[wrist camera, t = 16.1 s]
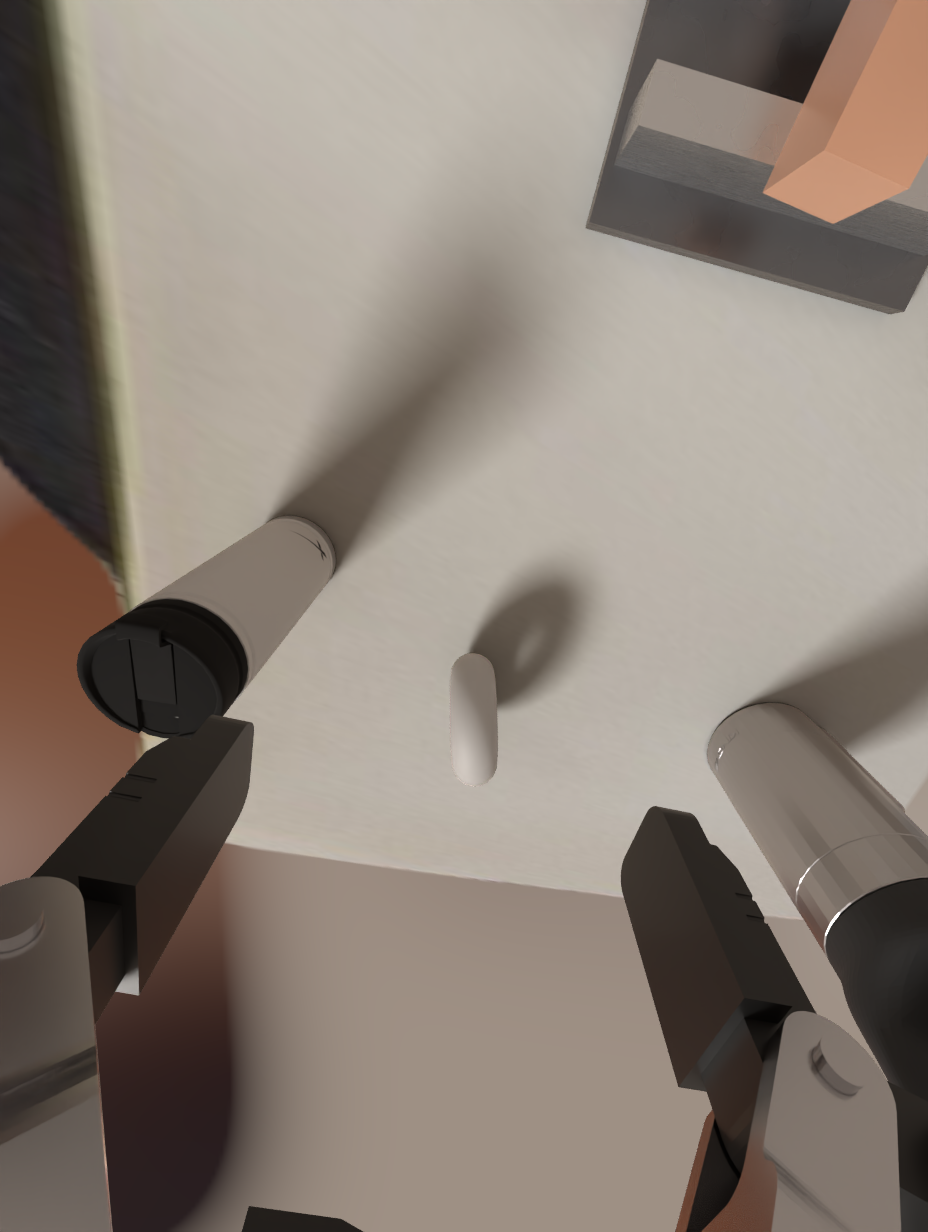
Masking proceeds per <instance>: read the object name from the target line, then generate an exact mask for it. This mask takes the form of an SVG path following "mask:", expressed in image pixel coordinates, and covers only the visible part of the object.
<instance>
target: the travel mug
mask: <svg viewBox="0 0 928 1232" xmlns="http://www.w3.org/2000/svg"><path fill="white" fill-rule="evenodd" d="M335 565H336V556H335V551H334V547H333V545H332V543H331V540H330V539H329V538H328V536H327V535H326V533H325V532H324V531H323V530H322V529H321V528H320V527H319V526H317V525H316V524H315V523H313V522H311V521H309V520H307V519H305V518H301V517H298V516H281V517H278V518H275V519H272V520H271V521H269V522H267V523H266V524H264V525H263V526H261V527H260V528H258V529H256V530H255V531H253V532H252V533H250V534H249V535H247V536H245V537H244V538H242V539H241V540H239V541H238V542H236V543H234V544H233V545H231V546H230V547H228V548H227V549H225V550H223V551H222V552H220V553H219V554H217V555H216V556H214V557H212V558H211V559H209V560H208V561H206V562H205V563H203V564H201V565H200V566H198V567H197V568H195V569H194V570H192V571H190V572H189V573H187V574H186V575H184V576H183V577H181V578H179V579H178V580H176V581H175V582H173V583H172V584H170V585H168V586H167V587H165V588H164V589H162V590H161V591H159V592H157V593H156V594H154V595H153V596H151V597H150V598H148V599H146V600H145V601H143V602H142V603H140V604H139V605H137V606H135V607H134V608H132V609H131V610H130V611H129V612H128V613H127V614H125V615H124V616H122V617H121V618H119V619H118V620H116V621H114V622H113V623H111V624H110V625H108V626H107V627H105V628H104V629H102V630H101V631H99V632H97V633H96V634H94V635H93V636H91V637H90V638H89V639H88V640H87V641H86V642H85V643H84V644H83V646H82V648H81V650H80V652H79V654H78V660H77V671H78V677H79V680H80V683H81V686H82V688H83V690H84V691H85V693H86V694H87V696H88V698H89V699H90V700H91V701H92V703H93V704H94V705H95V706H96V707H97V708H98V709H99V710H100V711H101V712H102V713H103V714H104V715H105V716H106V717H108V718H109V719H110V720H112V721H113V722H115V723H116V724H118V725H119V726H121V727H124V728H126V729H129V730H131V731H134V732H136V733H140V731H143V732H145V733H147V734H149V735H152V736H157V737H161V738H171V737H173V736H178V737H183V738H188V739H191V738H192V736H193V735H194V734H195V733H196V731H197V730H198V729H199V728H200V727H201V725H202V724H203V723H204V722H205V720H206V719H207V718H208V717H209V716H211V715H217V716H222V717H223V715H224V714H225V713H226V711H227V710H228V709H229V707H230V706H231V705H232V704H233V702H234V701H236V700H237V699H238V698H239V697H240V695H241V694H242V693H243V691H244V690H245V689H246V688H247V686H248V685H249V684H250V682H251V681H252V680H253V679H254V677H255V676H256V675H257V673H258V672H259V671H260V670H261V668H262V667H263V666H264V664H265V663H266V662H267V660H268V659H269V658H270V657H271V655H272V654H273V653H274V651H275V650H276V649H277V648H278V646H279V645H280V644H281V642H282V641H283V640H284V638H285V637H286V636H287V635H288V633H289V632H290V631H291V629H292V628H293V627H294V626H295V624H296V623H297V622H298V620H299V619H300V618H301V616H302V615H303V614H304V613H305V611H306V610H307V609H308V607H309V606H310V605H311V604H312V602H313V601H314V600H315V598H316V597H317V596H318V594H319V593H320V592H321V591H322V589H323V588H324V587H325V585H326V584H327V583H328V581H329V580H330V579H331V577H332V575H333V573H334V570H335Z"/></svg>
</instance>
